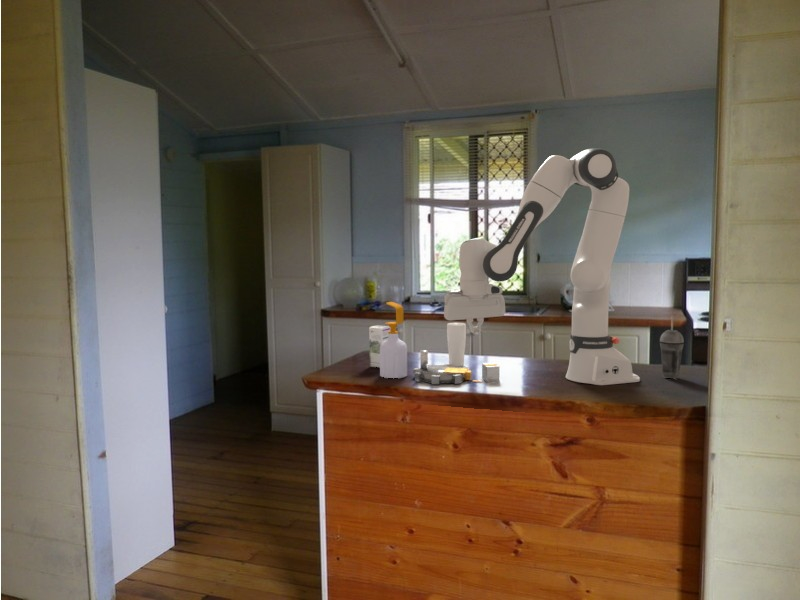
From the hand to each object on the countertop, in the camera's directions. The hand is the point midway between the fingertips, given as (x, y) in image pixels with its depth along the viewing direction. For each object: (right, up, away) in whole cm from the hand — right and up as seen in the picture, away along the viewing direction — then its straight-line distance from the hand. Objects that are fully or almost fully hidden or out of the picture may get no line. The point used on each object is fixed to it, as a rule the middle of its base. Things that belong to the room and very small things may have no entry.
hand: (475, 332), depth 198 cm
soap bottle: (-26, -15, +7) cm, 31 cm away
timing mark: (0, -16, -3) cm, 16 cm away
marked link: (+5, -15, -1) cm, 16 cm away
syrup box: (-31, -14, +22) cm, 41 cm away
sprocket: (-11, -15, +2) cm, 19 cm away
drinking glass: (-4, -13, +22) cm, 26 cm away
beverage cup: (+62, -15, -1) cm, 64 cm away
